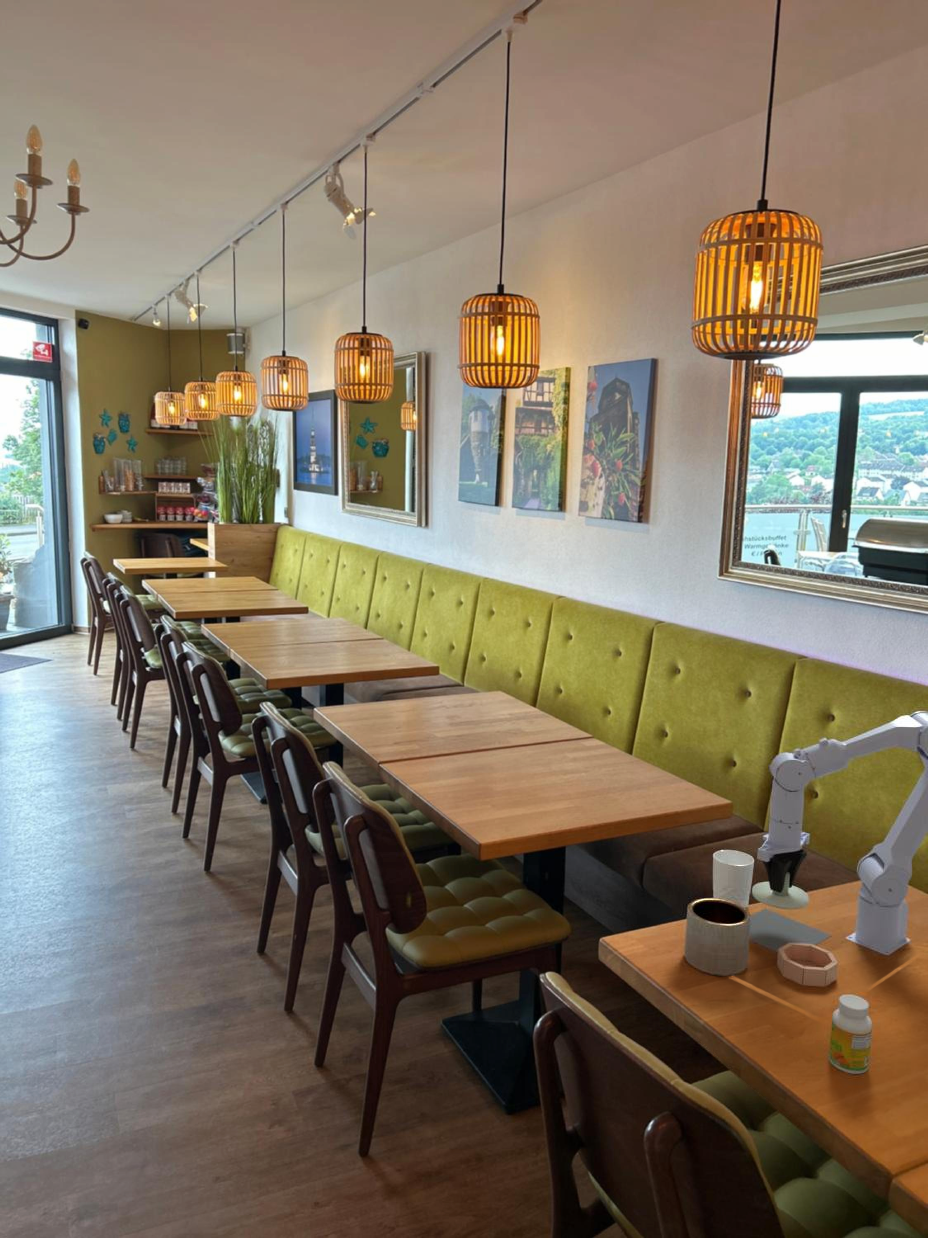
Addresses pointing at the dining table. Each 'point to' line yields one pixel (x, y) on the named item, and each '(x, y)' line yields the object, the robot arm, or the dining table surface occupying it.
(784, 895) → the lid
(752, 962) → the dining table surface
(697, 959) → the planter
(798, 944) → the bowl
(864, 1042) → the supplement bottle
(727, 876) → the white cup
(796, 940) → the mat
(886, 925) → the robot arm
